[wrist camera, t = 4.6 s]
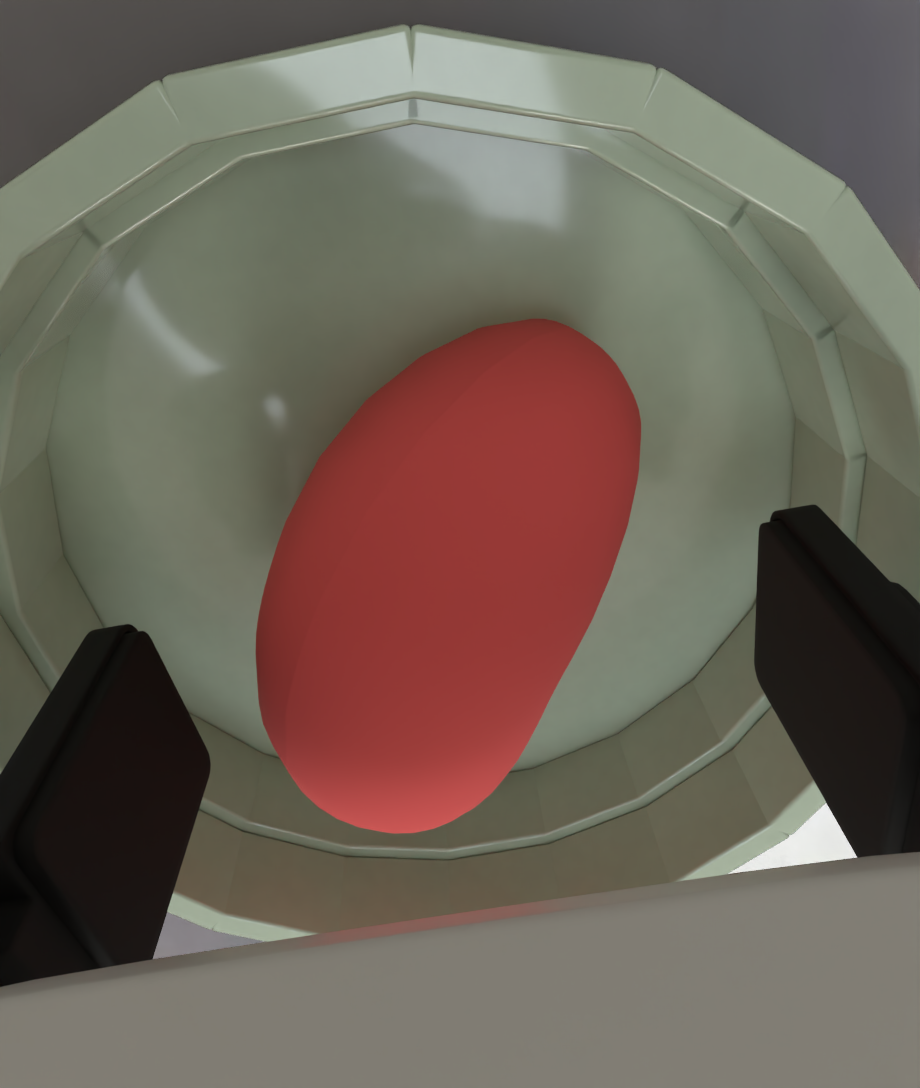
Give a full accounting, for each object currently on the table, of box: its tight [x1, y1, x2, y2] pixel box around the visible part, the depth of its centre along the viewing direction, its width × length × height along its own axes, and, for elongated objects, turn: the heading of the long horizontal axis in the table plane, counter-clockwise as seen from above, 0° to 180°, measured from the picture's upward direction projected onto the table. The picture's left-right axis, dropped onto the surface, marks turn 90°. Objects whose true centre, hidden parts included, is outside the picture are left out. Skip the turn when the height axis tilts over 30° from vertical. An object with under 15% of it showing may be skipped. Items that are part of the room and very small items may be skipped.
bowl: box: [0, 24, 920, 942], centre depth 13 cm, size 15×15×4 cm
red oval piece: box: [256, 319, 641, 834], centre depth 12 cm, size 5×9×6 cm, turn 150°
